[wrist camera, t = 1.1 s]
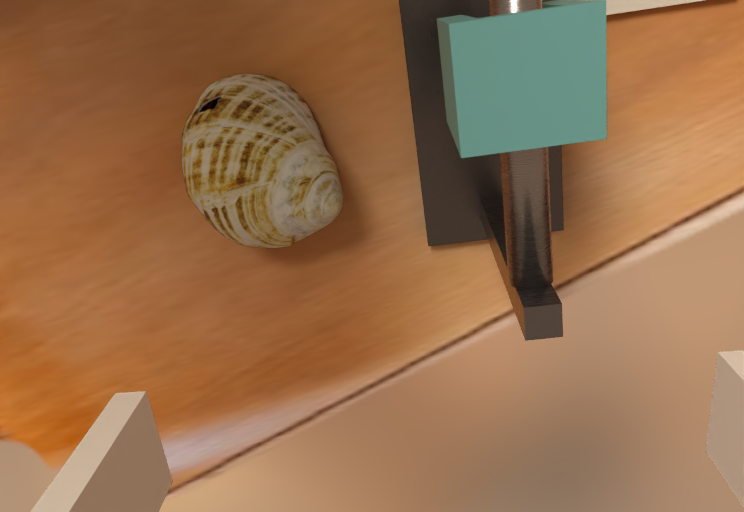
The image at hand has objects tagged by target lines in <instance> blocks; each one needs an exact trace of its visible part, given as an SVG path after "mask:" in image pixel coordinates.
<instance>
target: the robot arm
mask: <svg viewBox="0 0 744 512" xmlns="http://www.w3.org/2000/svg"><path fill="white" fill-rule="evenodd" d="M706 453H707V454H708V456H709V457H710V459H711V460H712V462H713V463H714V465H715V466H716V468H717V469H718V471H719V472H720V474H721V475H722V477H723V478H724V480H725V481H726V482H727V484H728V485H729V487H730V488H731V490H732V491H733V493H734V494H735V496H736V497H737V499H738V500H739V502H740V503H741V505H742V506H743V508H744V350H741V351H727V352H718V355H717V363H716V371H715V379H714V388H713V395H712V403H711V412H710V419H709V427H708V435H707V444H706ZM172 482H173V481H172V478H171V474H170V471H169V467H168V464H167V460H166V457H165V454H164V450H163V447H162V443H161V440H160V436H159V433H158V430H157V426H156V423H155V419H154V416H153V413H152V409H151V406H150V402H149V399H148V395H147V392H146V391H141V392H126V393H115V394H114V396H113V397H112V399H111V400H110V401H109V403H108V404H107V406H106V407H105V408H104V410H103V411H102V413H101V414H100V415H99V417H98V418H97V420H96V421H95V422H94V424H93V425H92V427H91V428H90V429H89V431H88V432H87V434H86V435H85V436H84V438H83V439H82V441H81V442H80V443H79V445H78V446H77V448H76V449H75V450H74V452H73V453H72V455H71V456H70V457H69V459H68V460H67V462H66V463H65V464H64V466H63V467H62V469H61V470H60V471H59V473H58V474H57V476H56V477H55V478H54V480H53V481H52V483H51V484H50V485H49V487H48V488H47V490H46V491H45V492H44V494H43V495H42V497H41V498H40V499H39V501H38V502H37V504H36V505H35V506H34V508H33V509H32V511H31V512H159V510H160V508H161V505H162V503H163V501H164V499H165V497H166V495H167V493H168V490H169V488H170V486H171V484H172Z"/></svg>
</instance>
